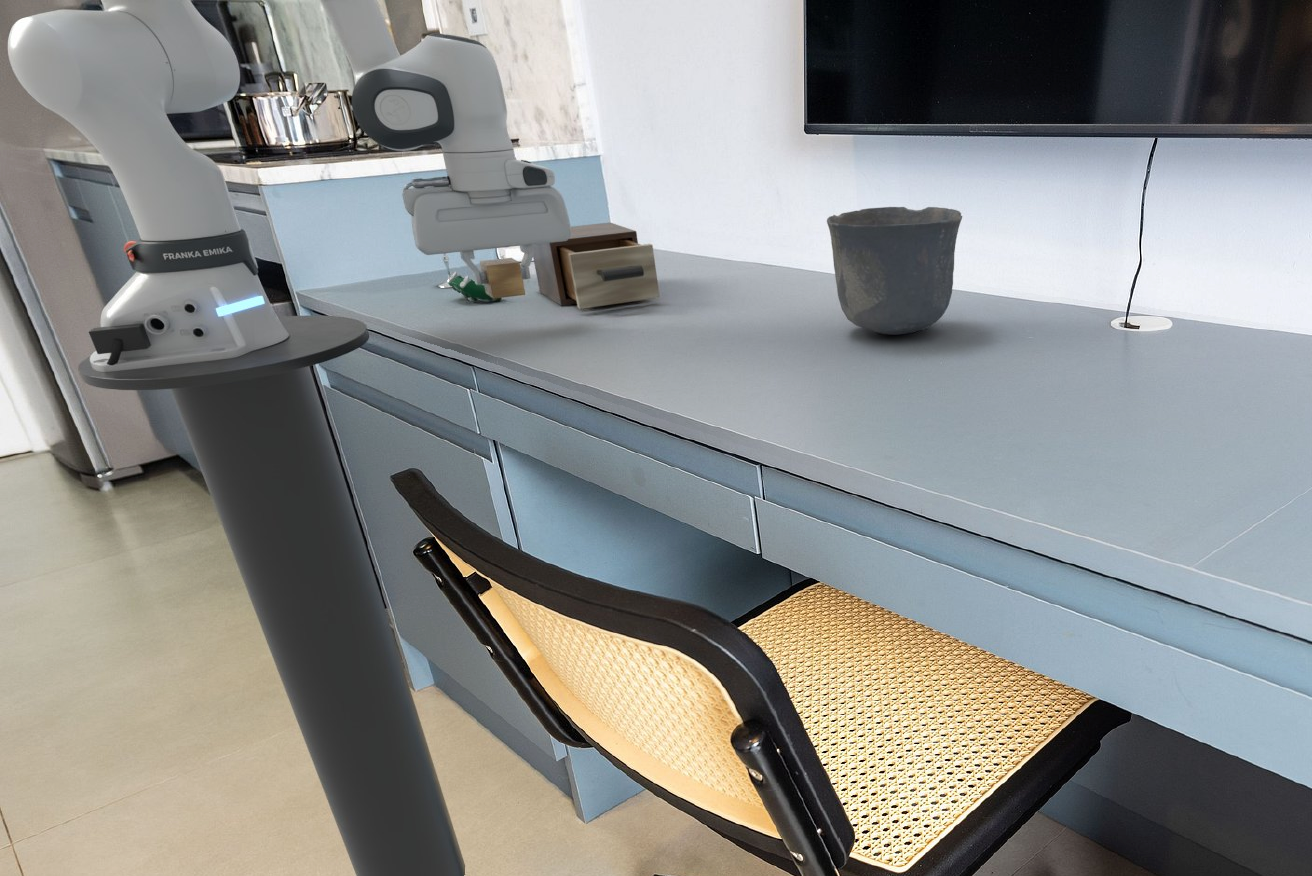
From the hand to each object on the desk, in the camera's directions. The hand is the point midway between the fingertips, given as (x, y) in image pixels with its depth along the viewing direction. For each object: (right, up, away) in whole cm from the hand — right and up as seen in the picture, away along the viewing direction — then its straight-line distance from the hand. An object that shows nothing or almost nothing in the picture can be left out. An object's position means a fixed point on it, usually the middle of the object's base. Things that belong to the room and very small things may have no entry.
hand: (503, 281), depth 139 cm
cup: (+55, -9, -6) cm, 56 cm away
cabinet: (+4, +6, +27) cm, 28 cm away
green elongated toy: (-14, +5, +26) cm, 30 cm away
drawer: (+10, +3, +17) cm, 21 cm away
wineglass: (-24, +11, +38) cm, 47 cm away
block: (0, -2, +1) cm, 2 cm away
